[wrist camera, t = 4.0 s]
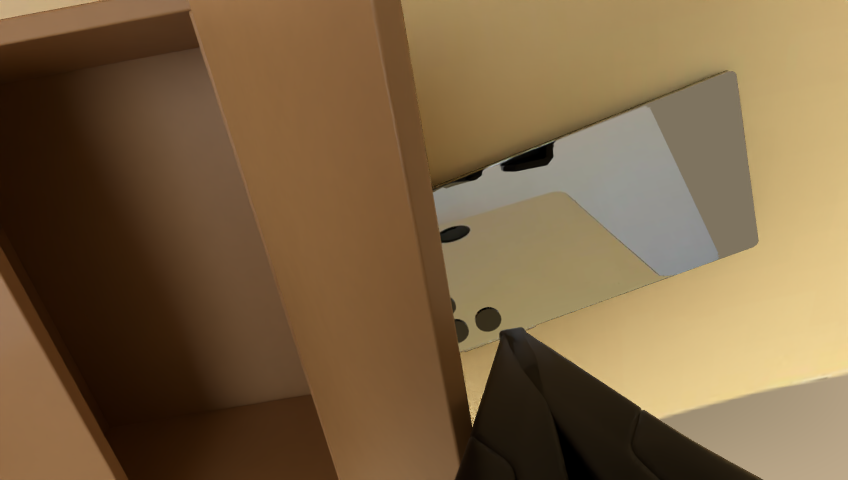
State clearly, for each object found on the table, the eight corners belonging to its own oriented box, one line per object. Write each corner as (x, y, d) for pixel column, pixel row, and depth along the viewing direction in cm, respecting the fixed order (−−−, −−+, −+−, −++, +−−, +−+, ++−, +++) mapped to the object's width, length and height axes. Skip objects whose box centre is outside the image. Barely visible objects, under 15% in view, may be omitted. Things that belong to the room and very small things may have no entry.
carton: (280, 18, 16) (184, -27, 9) (375, 385, 21) (360, 532, 14) (-74, 84, 16) (-440, 90, 9) (111, 429, 21) (-27, 595, 15)
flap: (179, -24, 9) (200, -24, 9) (356, 531, 14) (367, 523, 15) (329, -223, 4) (367, -213, 4) (509, 730, 9) (520, 712, 10)
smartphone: (759, 246, 19) (413, 374, 20) (749, 241, 19) (412, 366, 21) (735, 68, 16) (340, 227, 18) (725, 68, 17) (342, 223, 18)
